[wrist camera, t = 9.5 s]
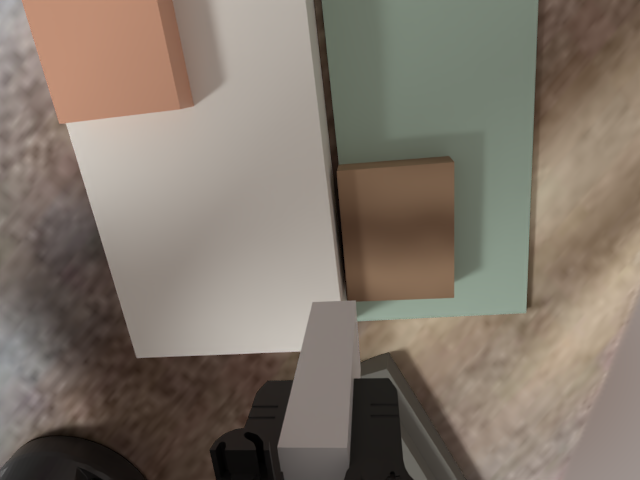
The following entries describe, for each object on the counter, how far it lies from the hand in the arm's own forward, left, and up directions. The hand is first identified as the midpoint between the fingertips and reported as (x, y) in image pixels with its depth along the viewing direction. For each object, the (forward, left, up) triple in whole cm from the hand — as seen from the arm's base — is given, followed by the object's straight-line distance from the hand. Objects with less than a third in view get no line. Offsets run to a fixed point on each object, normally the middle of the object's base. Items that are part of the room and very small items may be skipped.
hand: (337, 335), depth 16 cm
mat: (+5, -5, -16) cm, 18 cm away
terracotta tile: (+12, +12, -12) cm, 21 cm away
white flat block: (+5, +9, -16) cm, 19 cm away
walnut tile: (-2, -3, -16) cm, 16 cm away
